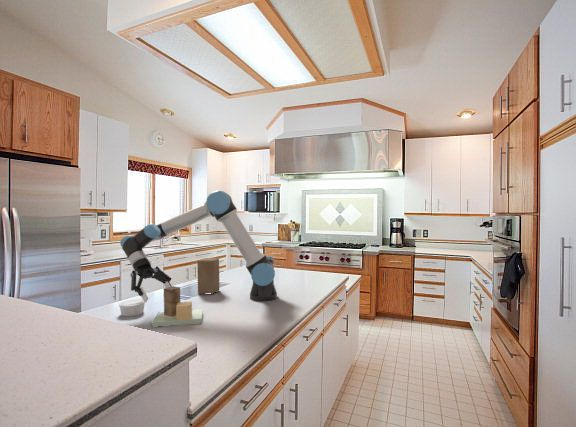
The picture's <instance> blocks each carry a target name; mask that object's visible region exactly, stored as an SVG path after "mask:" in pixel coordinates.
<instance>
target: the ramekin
mask: <svg viewBox="0 0 576 427" xmlns="http://www.w3.org/2000/svg"><path fill="white" fill-rule="evenodd" d="M145 304H146V302H144V301H143V299H130V300H124V301H122V302H120V303H119V310H120V314H121V315H122V316H123V317H133V316H139V315H141V314H143V312H144V310H145Z"/></svg>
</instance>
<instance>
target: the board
mask: <svg viewBox="0 0 576 427" xmlns="http://www.w3.org/2000/svg"><path fill="white" fill-rule="evenodd" d="M203 312H204V309H203V308H202V309H201V308H200V309H199V308H198V309H192V317H191V319H188V320H176V316H173V317H170V316H166V315H164V311H162V312H161V311H160V312H157V313H156V315H155V317H154V319H153V320H152V322H151V327H152V328H159V327H158V326H163V327H170V326H169V325H173V326H172V327H174V325H175V326H183V325H196V324H198V325H199V324H202V322H203V321H202V320H203V315H204V314H203Z"/></svg>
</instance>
